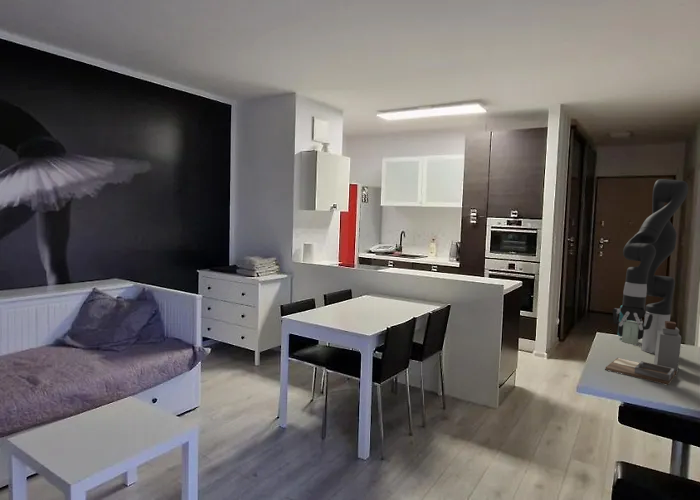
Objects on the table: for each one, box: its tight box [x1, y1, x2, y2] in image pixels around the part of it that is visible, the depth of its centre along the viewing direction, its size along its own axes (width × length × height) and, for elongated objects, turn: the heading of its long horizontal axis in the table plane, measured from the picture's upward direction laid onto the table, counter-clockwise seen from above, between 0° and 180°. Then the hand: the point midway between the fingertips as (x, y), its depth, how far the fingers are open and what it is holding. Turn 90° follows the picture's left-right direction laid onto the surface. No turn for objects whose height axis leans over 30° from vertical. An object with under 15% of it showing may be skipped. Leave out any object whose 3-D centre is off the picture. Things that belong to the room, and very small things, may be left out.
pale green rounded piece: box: [621, 320, 640, 345], centre depth 182 cm, size 6×8×8 cm
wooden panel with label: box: [605, 357, 678, 386], centre depth 178 cm, size 17×20×3 cm
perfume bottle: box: [653, 320, 682, 373], centre depth 184 cm, size 7×7×18 cm
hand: (630, 337), depth 183 cm, fingers closed on pale green rounded piece, 5 cm apart
